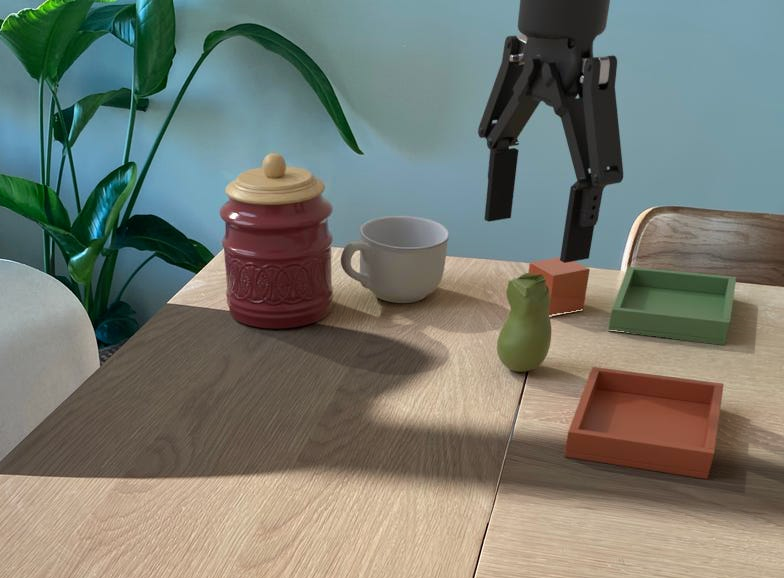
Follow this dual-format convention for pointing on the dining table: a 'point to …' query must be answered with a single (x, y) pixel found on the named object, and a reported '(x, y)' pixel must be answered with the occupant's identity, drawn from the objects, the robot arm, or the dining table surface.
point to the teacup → (399, 257)
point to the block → (563, 283)
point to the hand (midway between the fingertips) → (533, 238)
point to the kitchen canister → (277, 246)
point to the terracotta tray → (646, 422)
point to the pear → (526, 324)
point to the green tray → (674, 305)
